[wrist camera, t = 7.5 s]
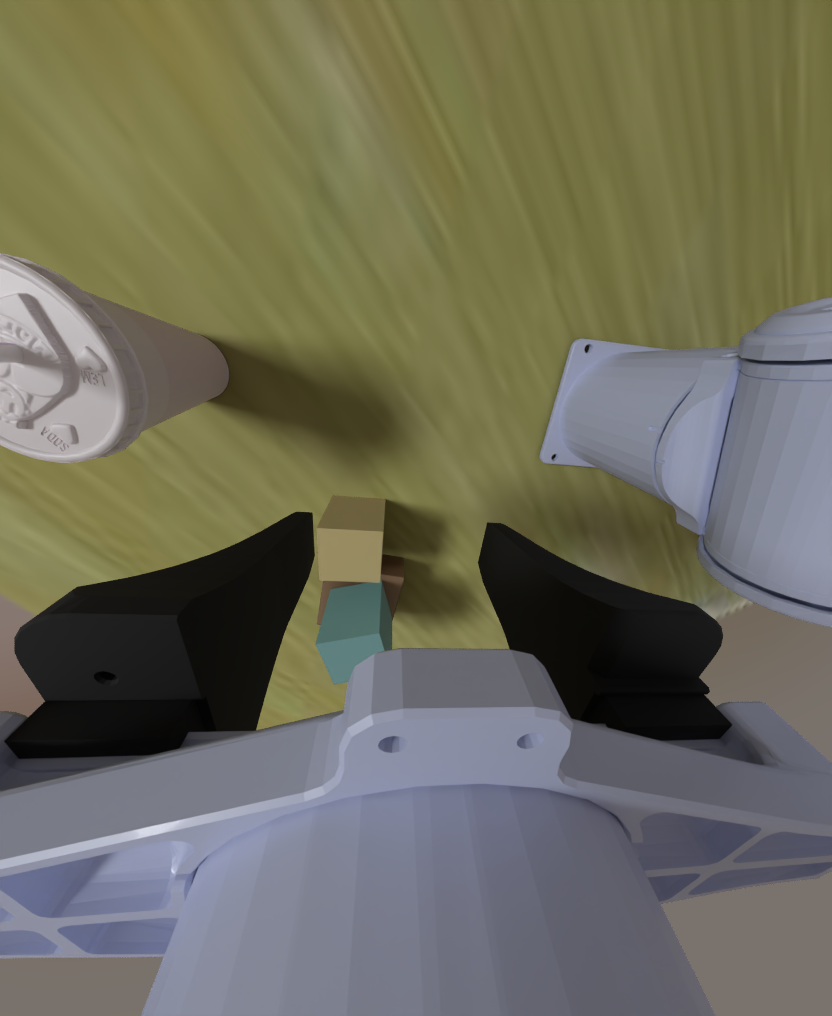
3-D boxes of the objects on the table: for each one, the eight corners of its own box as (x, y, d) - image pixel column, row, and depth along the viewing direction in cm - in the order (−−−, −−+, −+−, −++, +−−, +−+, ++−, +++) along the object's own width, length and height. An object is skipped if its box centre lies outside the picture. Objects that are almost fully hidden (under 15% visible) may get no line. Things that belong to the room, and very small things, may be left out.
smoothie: (267, 350, 18) (-24, 316, 6) (232, 439, 20) (-37, 562, 8) (153, 277, 16) (-673, -20, 4) (127, 383, 18) (-453, 425, 6)
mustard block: (385, 498, 23) (383, 531, 18) (383, 542, 25) (380, 582, 20) (332, 495, 23) (316, 527, 18) (333, 540, 24) (319, 580, 20)
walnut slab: (403, 555, 26) (404, 577, 23) (389, 607, 28) (388, 633, 25) (332, 543, 25) (325, 565, 22) (324, 598, 27) (316, 624, 24)
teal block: (391, 617, 25) (391, 674, 20) (344, 626, 25) (333, 684, 20) (381, 580, 23) (379, 633, 18) (330, 589, 23) (315, 644, 18)
